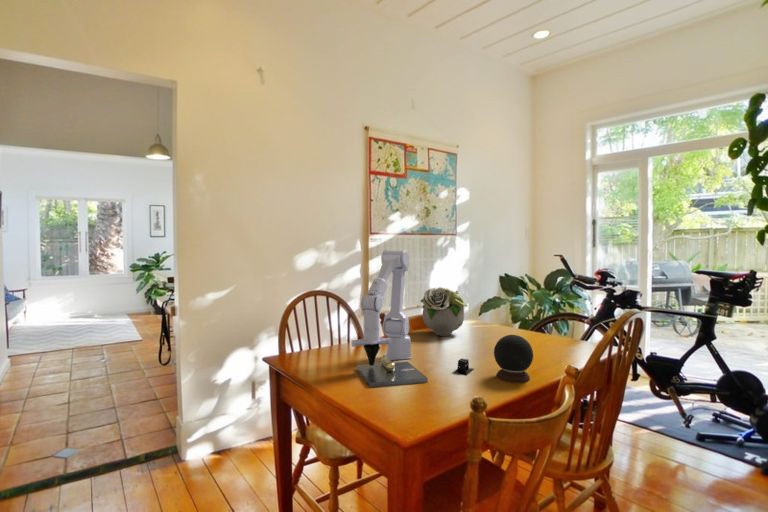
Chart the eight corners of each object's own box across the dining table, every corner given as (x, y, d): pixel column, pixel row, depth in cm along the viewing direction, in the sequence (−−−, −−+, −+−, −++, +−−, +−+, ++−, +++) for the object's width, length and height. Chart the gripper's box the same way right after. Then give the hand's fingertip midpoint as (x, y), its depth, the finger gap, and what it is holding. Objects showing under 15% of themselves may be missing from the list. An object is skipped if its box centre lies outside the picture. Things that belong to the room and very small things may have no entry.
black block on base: (467, 378, 146) (467, 365, 146) (447, 375, 150) (447, 362, 150) (477, 369, 157) (477, 357, 157) (458, 366, 160) (459, 354, 160)
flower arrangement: (417, 338, 204) (417, 289, 204) (421, 328, 229) (421, 284, 228) (468, 341, 200) (469, 290, 200) (466, 330, 225) (467, 285, 224)
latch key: (395, 371, 146) (395, 364, 146) (387, 371, 145) (387, 364, 145) (387, 362, 156) (387, 356, 156) (379, 363, 155) (379, 356, 155)
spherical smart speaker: (539, 383, 140) (540, 339, 140) (501, 384, 139) (502, 339, 139) (523, 371, 153) (524, 331, 153) (488, 372, 152) (489, 331, 152)
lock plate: (407, 365, 160) (407, 361, 160) (427, 382, 140) (427, 377, 140) (356, 369, 154) (356, 365, 154) (370, 387, 135) (370, 382, 135)
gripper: (354, 331, 146) (354, 369, 146) (393, 328, 150) (393, 366, 150) (350, 327, 152) (350, 363, 153) (388, 325, 156) (388, 361, 157)
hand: (371, 364), depth 152 cm, fingers closed
